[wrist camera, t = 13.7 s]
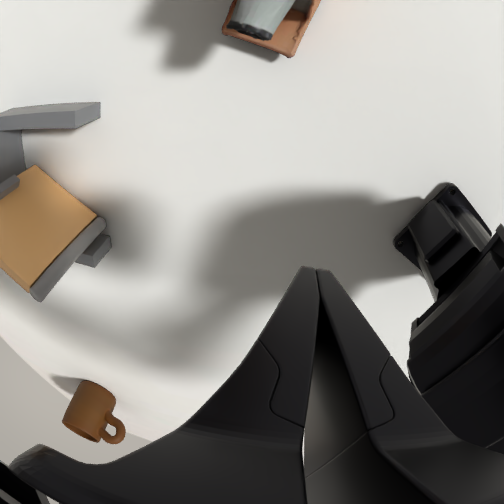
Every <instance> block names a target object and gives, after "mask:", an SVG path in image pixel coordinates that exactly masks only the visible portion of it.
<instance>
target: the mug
mask: <svg viewBox="0 0 504 504" xmlns="http://www.w3.org/2000/svg"><path fill="white" fill-rule="evenodd" d="M115 404H116V399H115V397H114V396H113V395H112V394H111V393H110V392H109V391H108V390H106V389H105V388H103V387H102V386H100V385H98V384H96V383H94V382H91V381H82V382H81V383H80V385H79V386H78V388H77V390H76V392H75V394H74V396H73V398H72V400H71V402H70V404H69V406H68V408H67V410H66V412H65V415H64V418H63V420H62V423H63V424H64V425H65V426H66V427H67V428H69V429H70V430H72V431H73V432H75V433H76V434H78V435H80V436H82V437H84V438H86V439H88V440H90V441H93V442H97V443H98V442H99V441H100V439H101V438H103V440H105V441H106V442H107V443H110V444H118V443H120V442H121V441H122V440H123V439H124V437H125V433H126V431H125V426H124V424H123V423H122V422H121V421H120V420H119V419H117V418H116V417H114V416H113V415H112V412H113V409H114V407H115ZM107 424H110V425H112V426H114V427H115V428H116V435H115V436H111V435H110V434H109V433H108V432H107V431H106V430H105V429H106V426H107Z"/></svg>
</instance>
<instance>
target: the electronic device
mask: <svg viewBox="0 0 504 504" xmlns="http://www.w3.org/2000/svg"><path fill="white" fill-rule="evenodd" d="M320 1H321V0H233V2H232V4H231V6H230V9H229V12H228V15H227V17H226V20H225V22H224V24H223V26H222V33H223V34H224V35H226V36H227V35H230V36H233V37H236V38H239V39H242V40H245V41H248V42H251V43H253V44H256V45H259V46H262V47H265V48H267V49H270V50H273V51H275V52H278V53H280V54H282V55H284V56H286V57H287V58H291V57H293V56H294V55H295V53H296V50H297V48H298V46H299V43H300V41H301V39H302V37H303V35H304V33H305V31H306V29H307V27H308V25H309V23H310V21H311V19H312V17H313V15H314V13H315V11H316V9H317V7H318V5H319V3H320Z"/></svg>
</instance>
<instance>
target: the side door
mask: <svg viewBox="0 0 504 504" xmlns="http://www.w3.org/2000/svg"><path fill="white" fill-rule="evenodd" d="M96 216H97V215H96V214H95V213H94V212H92V211H91V210H90V209H88V208H87V207H86V206H85V205H83V204H82V203H81V202H80V201H78V200H77V199H76V198H75V197H73V196H72V195H71V194H70V193H68V192H67V191H66V190H65V189H64V188H62V187H61V186H60V185H59V184H58V183H56V182H55V181H54V180H53V179H52V178H50V177H49V176H48V175H47V174H46V173H44V172H43V171H42V170H41V169H40V168H39V167H37V166H36V165H33V166H32V167H30V168H29V169H27V170H25V171H24V172H22V173H21V174H19V175H18V176H16V175H15V174H14V175H13V176H11V177H10V178H8V179H7V180H5V181H4V182H2V183H1V184H0V268H1V269H3V270H4V271H5V272H6V273H7V274H8V275H9V276H10V277H11V278H12V279H13V280H14V281H15V282H17V283H18V284H19V285H20V286H21V287H22V288H23V289H25V290H26V291H27V292H28V293H30V294H31V295H32V297H33V298H34V299H35V300H37V301H38V302H42V301H43V300H44V298H45V297H46V296H47V294H48V293H49V292H50V291H51V289H52V288H53V287H54V286H55V284H56V283H57V282H58V281H59V280H60V278H61V277H62V276H63V275H64V274H65V272H66V271H67V270H68V269H69V268H70V267H71V265H72V264H73V263H74V262H75V261H76V260H77V258H78V257H79V256H80V255H81V254H82V253H83V252H84V250H85V249H86V248H87V247H88V246H89V245H90V244H91V243H92V242H93V241H94V239H95V238H96V237H97V236H98V235H99V234H100V233H101V232H102V231H103V230H104V229H105V228H106V222H105V220H104V219H103V218H101V217H97V218H96Z"/></svg>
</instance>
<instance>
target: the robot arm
mask: <svg viewBox="0 0 504 504" xmlns="http://www.w3.org/2000/svg"><path fill="white" fill-rule="evenodd" d="M451 189H453V192H452V193H450V190H451ZM491 236H492V233H491V231H490V229H489V228H488V227H487V225H486V224H485V222H484V221H483V220H482V218H481V217H480V216H479V214H478V213H477V212H476V210H475V209H474V208H473V206H472V205H471V204H470V202H469V201H468V200H467V199H466V197H465V196H464V195H463V194H462V192H461V191H460V190H459V189H458V187H457V186H456V185H454V184H453V183H449V184H448V185H446V186H445V187H444V189H443V190H442V191H441V192H440V193H439V194H438V195H437V196H436V197H435V198H434V199H433V200H431V201H430V202H429V203H428V204H427V205H426V206H425V207H424V208H423V209H422V210H421V211H420V212H419V213H418V214H417V215H416V216H415V217H414V218H413V219H412V220H411V221H410V222H409V224H408V226H407V227H405V228H404V229H403V230H402V231H401V232H400V233H399V234H398V235H397V236H396V237H395V239H394V241H393V244H394V246H395V248H396V249H397V250H398V251H399V252H401V253H402V254H403V255H404V256H405V257H406V258H407V259H409V260H410V261H411V262H412V263H413V264H414V265H415V266H417V267H418V268H419V269H420V270H421V271H422V272H423V274H424V277H425V279H426V281H427V284H428V286H429V289H430V291H431V294H432V296H433V299H434V301H435V303H434V304H433V305H432V306H431V307H430V308H429V309H428V310H427V311H426V312H425V313H424V314H423V315H422V316H421V317H420V318H416V319H415V320H414V321H413V322H412V326H411V337H410V341H409V346H410V351H409V359H408V360H407V368H408V373H409V378H410V381H411V382H410V381H409V379H408V378H407V377H406V375H405V374H404V372H403V371H402V370H401V368H400V367H399V365H398V364H397V363H396V361H395V360H394V358H393V357H392V356H390V353H389V351H388V350H387V348H386V347H385V345H384V344H383V343H382V341H381V340H380V338H379V337H378V335H377V334H376V333H375V331H374V330H373V328H372V327H371V326H370V324H369V323H368V321H367V320H366V319H365V317H364V316H363V314H362V313H361V312H360V310H359V309H358V308H357V306H356V305H355V304H354V302H353V301H352V299H351V298H350V297H349V295H348V294H347V293H346V291H345V290H344V289H343V287H342V286H341V285H340V283H339V282H338V281H337V279H336V278H335V277H334V275H333V274H332V273H331V272H330V271H329V270H323V269H316V270H315V269H314V268H311V267H305V266H301V267H300V269H299V271H298V272H297V274H296V276H295V277H294V279H293V281H292V283H291V284H290V286H289V288H288V289H287V291H286V293H285V294H284V296H283V298H282V299H281V301H280V303H279V304H278V306H277V308H276V309H275V311H274V313H273V314H272V316H271V318H270V319H269V321H268V322H267V324H266V326H265V327H264V329H263V331H262V332H261V334H260V335H259V337H258V339H257V340H256V341H255V343H254V345H253V346H252V348H251V349H250V351H249V352H248V354H247V355H246V357H245V358H244V359H243V361H242V362H241V364H240V365H239V366H238V367H237V369H236V370H235V371H234V372H233V373H232V375H231V376H230V377H229V378H228V379H227V380H226V381H225V383H224V384H223V385H222V386H221V387H220V388H219V389H218V390H217V391H216V392H215V393H214V394H213V395H212V396H211V397H210V399H209V400H208V401H207V402H206V403H205V404H204V405H203V406H202V407H201V408H200V409H199V410H198V411H197V412H196V413H195V414H194V415H193V416H192V417H191V418H190V419H189V420H187V421H186V422H185V423H184V424H183V425H181V426H180V427H179V428H177V429H176V430H174V431H173V432H171V433H169V434H167V435H165V436H163V437H161V438H160V439H158V440H156V441H154V442H152V443H150V444H148V445H146V446H144V447H142V448H140V449H138V450H136V451H134V452H132V453H130V454H128V455H126V456H124V457H121V458H119V459H117V460H115V461H112V462H109V463H106V464H86V463H83V462H79V461H77V460H74V459H72V458H70V457H68V456H66V455H64V454H62V453H60V452H58V451H56V450H54V449H52V448H50V447H48V446H45V445H42V444H38V445H36V446H34V447H32V448H31V449H29V450H27V451H25V452H24V453H22V454H21V455H19V456H18V457H17V458H15V459H14V460H13V461H12V463H11V464H10V465H9V466H8V465H6V464H5V463H3V462H2V461H1V460H0V504H50V503H49V501H48V499H47V497H46V496H48V497H50V498H51V499H53V500H55V501H57V502H59V504H504V226H503V225H502V224H501V223H500V225H499V226H498V227H497V229H496V233H495V234H494V235H493V237H492V238H491ZM400 241H403V242H402V243H401V244H398V242H400ZM303 435H304V465H303V455H302V445H303Z"/></svg>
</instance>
